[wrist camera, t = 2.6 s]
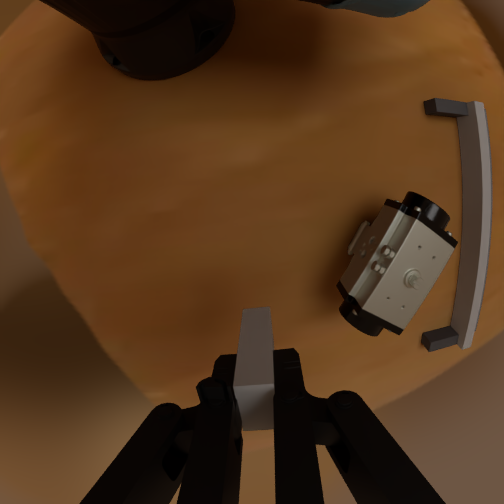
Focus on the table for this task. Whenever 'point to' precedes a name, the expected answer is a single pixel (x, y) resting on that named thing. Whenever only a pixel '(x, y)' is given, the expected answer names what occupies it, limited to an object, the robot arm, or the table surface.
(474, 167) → the curved pull handle
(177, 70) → the robot arm
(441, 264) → the pneumatic valve
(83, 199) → the table surface
